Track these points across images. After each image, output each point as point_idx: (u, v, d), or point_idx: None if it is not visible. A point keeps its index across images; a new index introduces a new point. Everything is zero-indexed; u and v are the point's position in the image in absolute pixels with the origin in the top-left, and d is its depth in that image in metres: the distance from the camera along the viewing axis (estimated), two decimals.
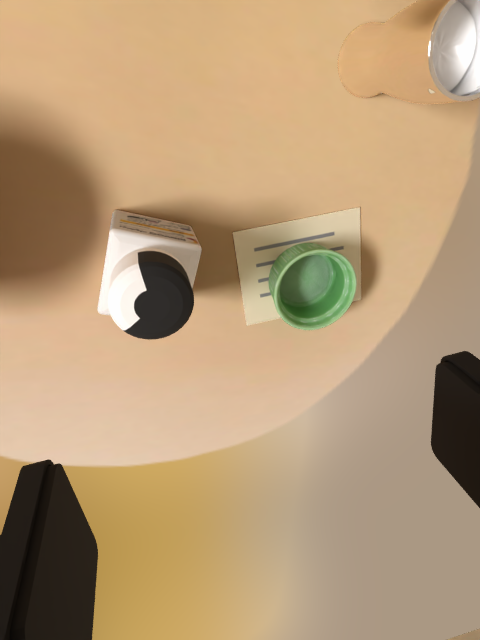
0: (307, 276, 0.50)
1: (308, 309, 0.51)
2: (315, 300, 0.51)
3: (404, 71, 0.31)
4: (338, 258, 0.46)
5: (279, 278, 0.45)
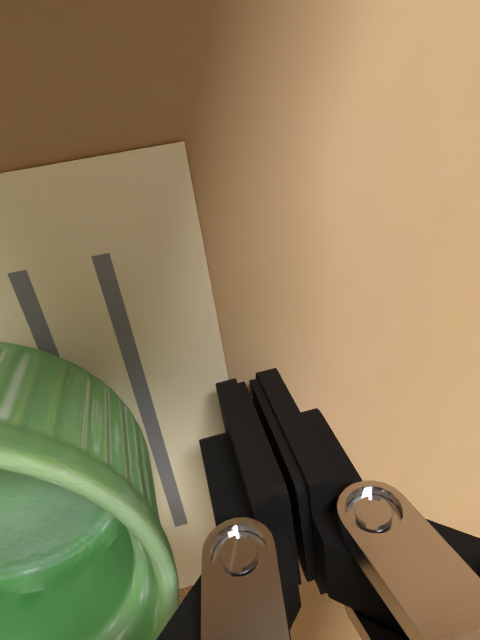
0: None
1: None
2: None
3: None
4: None
5: None
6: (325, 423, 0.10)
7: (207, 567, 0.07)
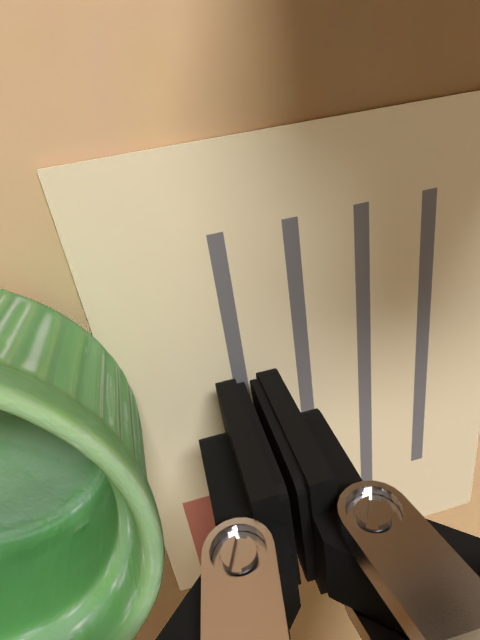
0: None
1: None
2: None
3: None
4: None
5: (6, 399, 0.06)
6: (325, 423, 0.10)
7: (207, 567, 0.07)
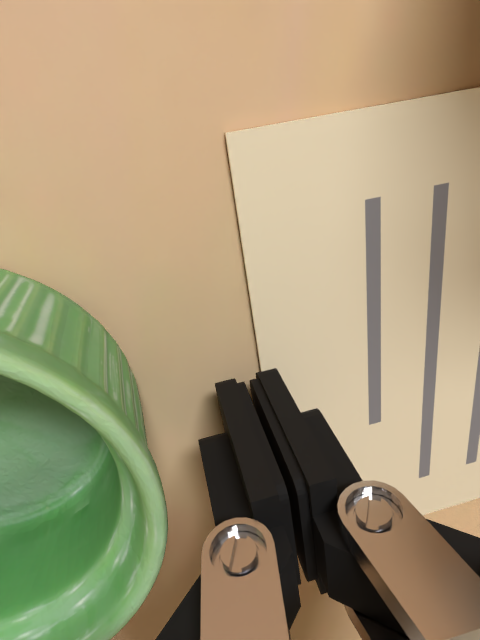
0: None
1: None
2: None
3: None
4: (92, 616, 0.10)
5: (15, 367, 0.06)
6: (325, 423, 0.10)
7: (207, 567, 0.07)
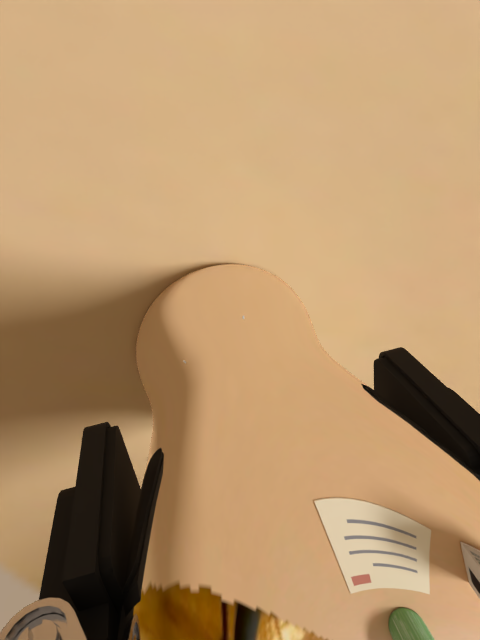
0: None
1: None
2: None
3: None
4: None
5: None
6: (462, 400, 0.10)
7: None
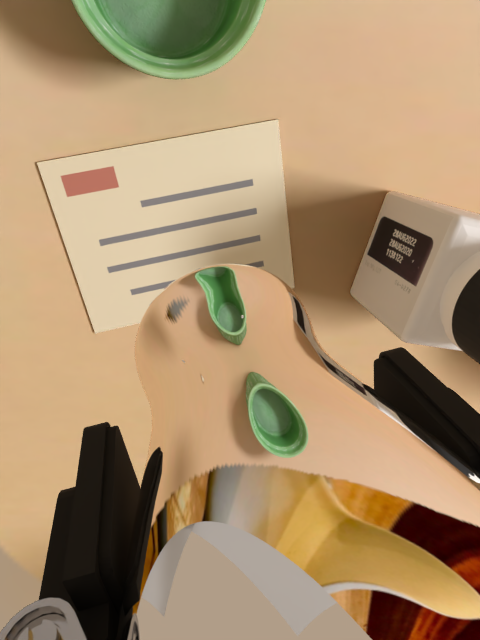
0: None
1: None
2: None
3: None
4: (105, 33, 0.20)
5: (249, 33, 0.21)
6: (462, 400, 0.10)
7: None
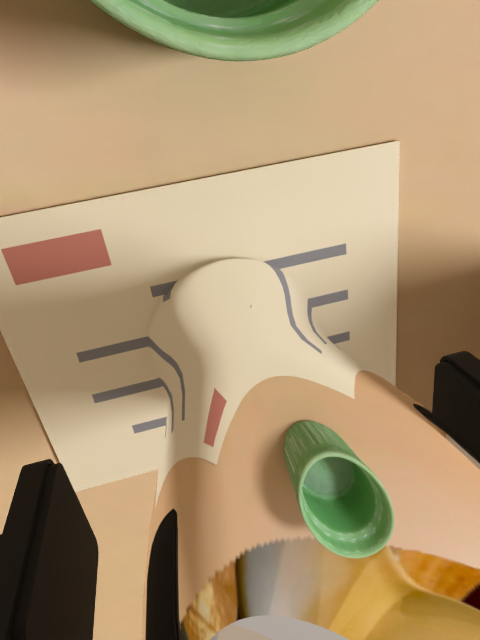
0: None
1: None
2: None
3: None
4: None
5: None
6: None
7: None
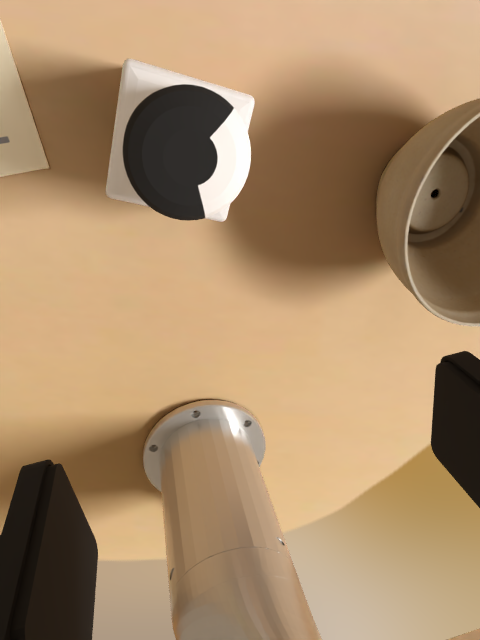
0: None
1: None
2: None
3: None
4: None
5: None
6: None
7: None
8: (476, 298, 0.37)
